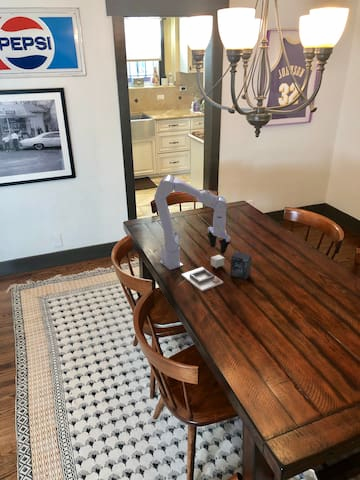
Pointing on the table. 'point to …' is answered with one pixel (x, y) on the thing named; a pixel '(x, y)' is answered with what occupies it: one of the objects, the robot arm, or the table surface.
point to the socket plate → (202, 279)
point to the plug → (217, 261)
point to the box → (240, 265)
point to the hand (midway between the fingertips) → (218, 249)
